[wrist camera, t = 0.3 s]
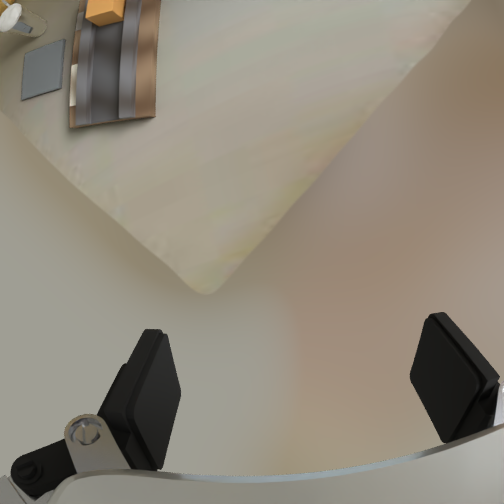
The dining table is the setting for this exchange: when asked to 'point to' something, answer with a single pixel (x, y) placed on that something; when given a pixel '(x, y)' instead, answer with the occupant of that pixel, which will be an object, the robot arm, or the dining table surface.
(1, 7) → the stress ball
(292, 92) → the dining table surface
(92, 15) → the switch tab
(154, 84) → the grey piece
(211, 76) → the dining table surface
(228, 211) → the dining table surface
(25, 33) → the milkshake
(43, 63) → the mat
